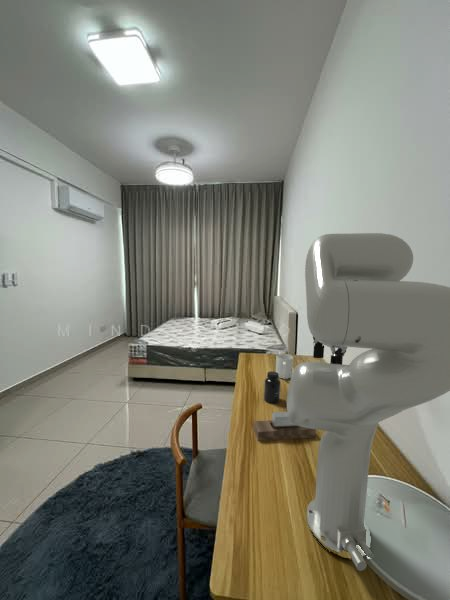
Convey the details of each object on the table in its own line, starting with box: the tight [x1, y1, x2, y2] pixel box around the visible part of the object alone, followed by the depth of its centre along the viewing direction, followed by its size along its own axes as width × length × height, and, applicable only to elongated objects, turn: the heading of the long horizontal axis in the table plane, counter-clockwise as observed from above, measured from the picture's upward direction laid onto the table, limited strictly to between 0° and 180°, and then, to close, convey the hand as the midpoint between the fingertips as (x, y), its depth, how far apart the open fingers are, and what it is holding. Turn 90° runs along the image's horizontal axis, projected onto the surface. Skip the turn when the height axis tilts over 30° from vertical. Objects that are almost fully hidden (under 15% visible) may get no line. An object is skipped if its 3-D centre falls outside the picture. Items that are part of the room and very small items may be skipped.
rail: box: [253, 419, 317, 441], centre depth 84 cm, size 20×6×3 cm, turn 97°
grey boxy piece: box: [271, 411, 297, 429], centre depth 84 cm, size 8×3×7 cm, turn 97°
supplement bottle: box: [263, 371, 281, 404], centre depth 107 cm, size 7×7×12 cm
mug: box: [275, 353, 294, 380], centre depth 131 cm, size 12×9×11 cm
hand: (326, 363), depth 73 cm, fingers open, 9 cm apart
